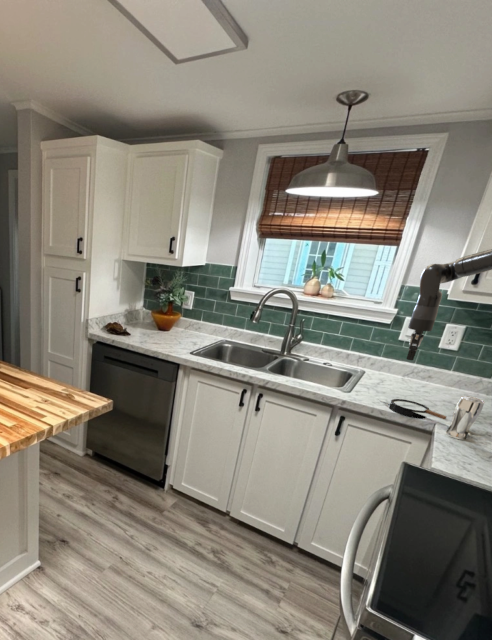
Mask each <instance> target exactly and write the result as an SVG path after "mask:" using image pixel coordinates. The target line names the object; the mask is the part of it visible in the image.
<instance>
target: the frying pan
mask: <svg viewBox="0 0 492 640" xmlns="http://www.w3.org/2000/svg"><path fill="white" fill-rule="evenodd" d="M395 402H406V403H411V404H414V405H417V406H419V407H422V408H424V409H425V410H417V409H412V408H407V407H405V406H401V405H399V404H397V403H395ZM388 409H389V410H391V411H392V412H393V413H396V414H398V415H401V416H403V417H407V418H411V419H417V420H418V419H419V420H424V419H426V418H427V417H428V416H425V415H423V414H424V413H426V414H428V415H431V416H433V417H436V418H440V419H442V420H446V419H447V416H446V415H444V414H440V413H438V412H436V411H434V410H433V411H432V410H430V408H429V407H428V406H426V405H425V404H422V403H419V402H417V401H414V400H408V399H402V398H393V399H391V400H390V403H389V406H388ZM420 413H423V414H420ZM423 418H424V419H423ZM427 419H428V418H427Z"/></svg>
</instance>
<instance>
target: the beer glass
mask: <svg viewBox="0 0 492 640" xmlns="http://www.w3.org/2000/svg"><path fill="white" fill-rule="evenodd" d="M485 403H486V402H485V400H483V399H480V398H477V397H474V396H470V395H461V396H460V398H459V400H458V401H457V403H456V406H455V408H454V411H453V415H452V420H451V423H450V426H449V427H448V428H447V430H446V431H445V435H447V436H448V437H450V438H452V439H456V440H460V441H465V440H467V438H468V435H469V431H470V429H471V428H472V427H473V425H474V424H475V423H476V421H477V420H478V418H479V416H480V415H481V414H482V410H483V408H484V405H485Z"/></svg>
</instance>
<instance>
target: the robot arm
mask: <svg viewBox="0 0 492 640" xmlns="http://www.w3.org/2000/svg"><path fill="white" fill-rule="evenodd" d="M490 271H492V248H490V249H487V250H482V251H479V252H476V253H472V254H468V255H465V256H462V257H459V258H457V259H456V260H455V261H452V262H448V263H432V264H431V263H430V264H429V265H427V266H426V267H425V268H424V269H423V270H422V272H421V275H420V277H419V294H418V298H417V301H416V304H415V306H414V309H413V311H412V314H411V317H410V320H409V323H408V329H410V330H413V331H414V333H413V332H412V333H411V335H410V340H409V343H408V345H409V347H408V352H407V355H406V360H407V361H413V360H414V359H415V356H416V353H417V351H418V348H419V347H421V344H422V341H423V340H424V337H425V334H424V332H431V331H433V328H434V324H435V322H436V319H437V317H438V312H439V307H440V305H441V301H442V298H443V292H442V291H440V288H441V284H446V283H450V282H453V281H456V280H459V279H462V278H465V277H469V276H474V275H478V274H481V273H486V272H490Z"/></svg>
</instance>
